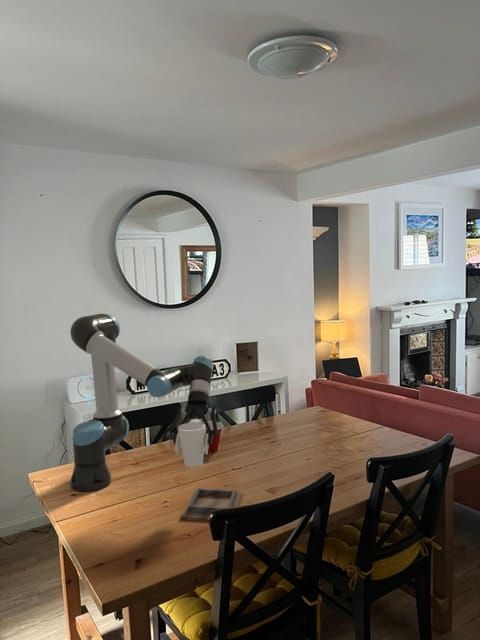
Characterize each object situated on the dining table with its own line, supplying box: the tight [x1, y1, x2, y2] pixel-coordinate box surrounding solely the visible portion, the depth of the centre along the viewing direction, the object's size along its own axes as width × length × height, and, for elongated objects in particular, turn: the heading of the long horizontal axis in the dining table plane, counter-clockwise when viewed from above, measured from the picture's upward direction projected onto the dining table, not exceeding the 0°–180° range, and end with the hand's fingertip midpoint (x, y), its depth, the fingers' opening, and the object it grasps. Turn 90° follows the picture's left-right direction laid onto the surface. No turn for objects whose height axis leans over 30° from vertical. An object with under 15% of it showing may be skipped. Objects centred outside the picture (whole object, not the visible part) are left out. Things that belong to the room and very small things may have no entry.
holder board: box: [180, 488, 244, 522], centre depth 182 cm, size 18×20×3 cm
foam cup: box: [177, 421, 206, 468], centre depth 180 cm, size 10×9×13 cm
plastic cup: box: [201, 420, 224, 453], centre depth 237 cm, size 11×11×12 cm
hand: (190, 452), depth 178 cm, fingers closed on foam cup, 9 cm apart
